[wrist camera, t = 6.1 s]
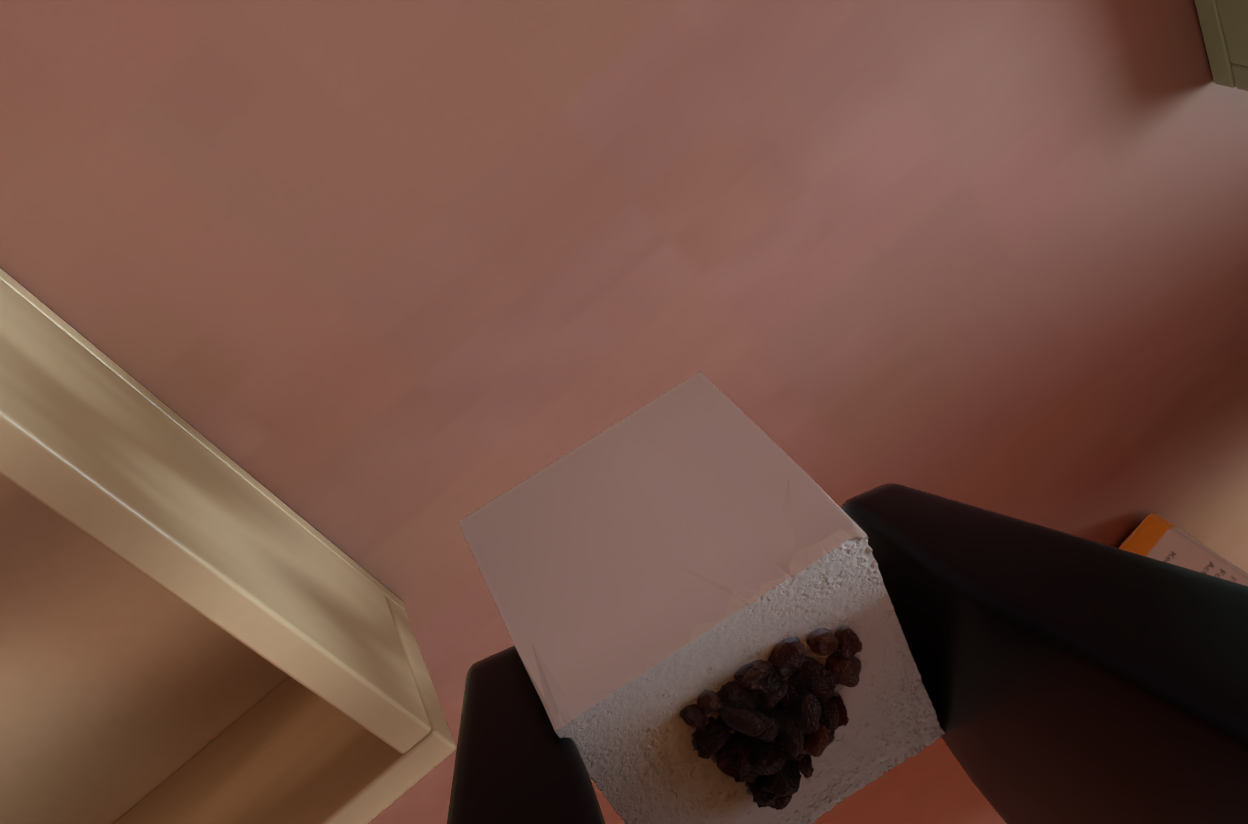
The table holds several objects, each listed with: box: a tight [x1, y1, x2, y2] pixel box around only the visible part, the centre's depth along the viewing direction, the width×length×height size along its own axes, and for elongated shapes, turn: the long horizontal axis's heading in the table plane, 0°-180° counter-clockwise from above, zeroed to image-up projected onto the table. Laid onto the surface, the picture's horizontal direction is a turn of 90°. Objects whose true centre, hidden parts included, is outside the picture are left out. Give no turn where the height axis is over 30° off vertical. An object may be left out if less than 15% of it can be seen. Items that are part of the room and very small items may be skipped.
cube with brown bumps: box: [458, 371, 945, 824], centre depth 8 cm, size 2×2×2 cm
